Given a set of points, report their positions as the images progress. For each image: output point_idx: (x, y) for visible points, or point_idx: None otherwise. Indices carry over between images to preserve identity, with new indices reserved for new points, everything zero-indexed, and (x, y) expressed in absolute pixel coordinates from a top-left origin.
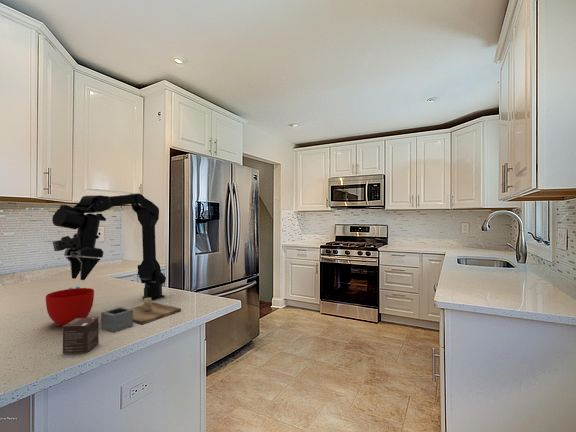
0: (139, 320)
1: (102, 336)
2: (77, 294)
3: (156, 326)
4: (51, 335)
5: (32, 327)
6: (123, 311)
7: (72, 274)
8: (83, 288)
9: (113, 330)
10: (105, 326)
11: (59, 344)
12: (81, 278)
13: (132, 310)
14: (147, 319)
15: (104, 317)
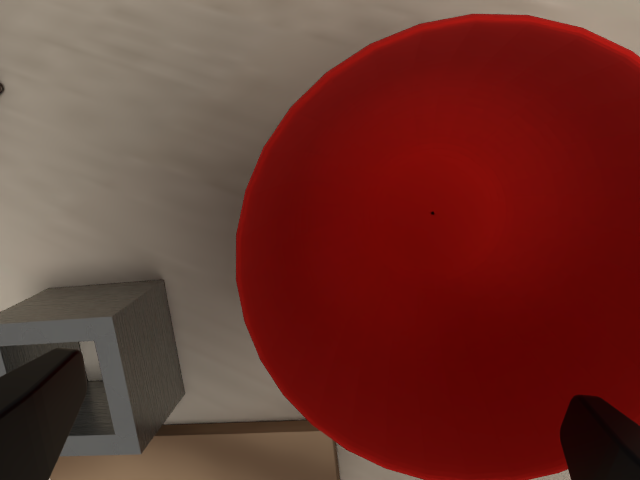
0: None
1: (27, 225)
2: (609, 372)
3: None
4: (273, 44)
5: (575, 6)
6: (82, 425)
7: (612, 443)
8: None
9: (42, 292)
10: (111, 289)
11: (73, 26)
12: (39, 363)
13: None
14: (51, 475)
15: (89, 307)
